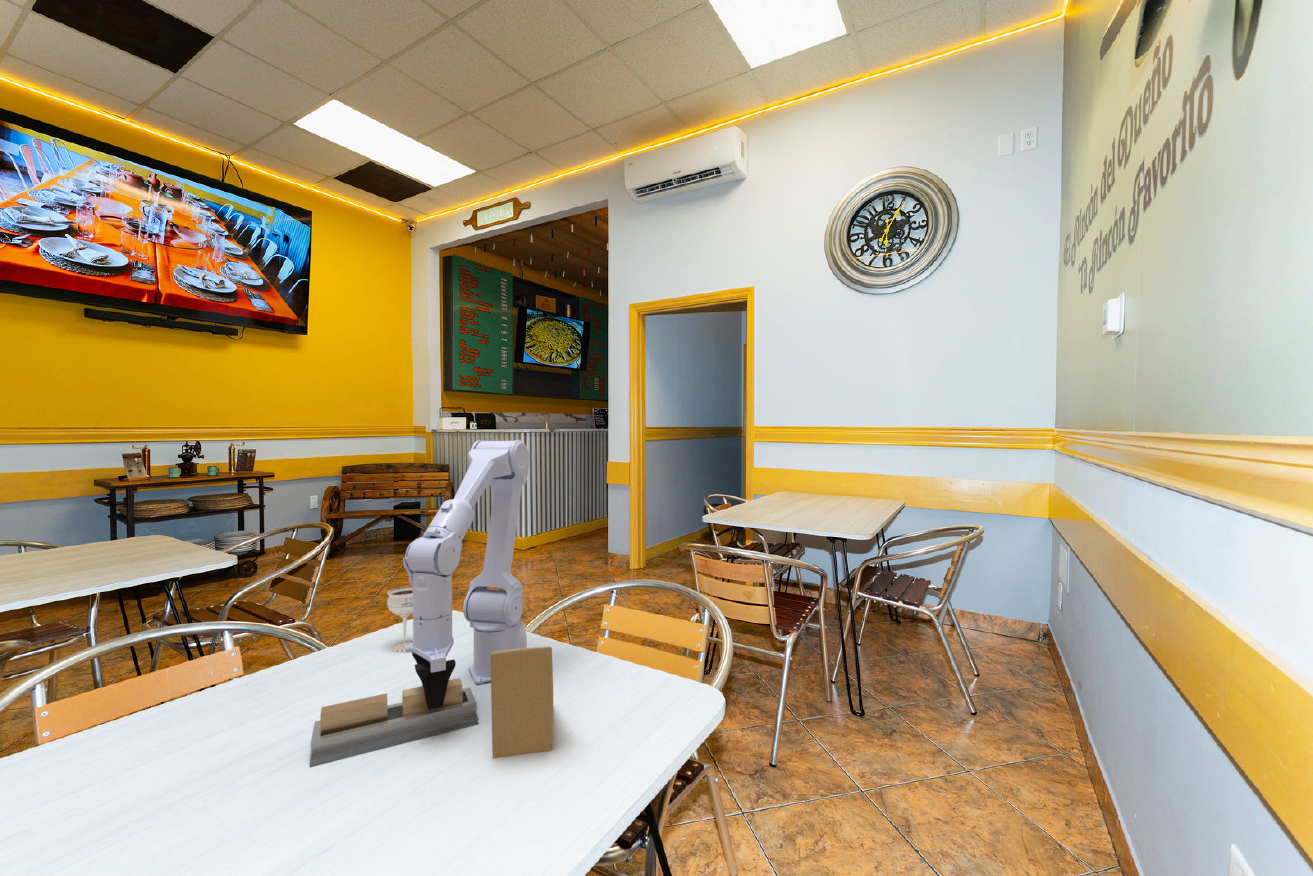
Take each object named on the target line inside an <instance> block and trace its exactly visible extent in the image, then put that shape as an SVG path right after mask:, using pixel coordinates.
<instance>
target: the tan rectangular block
mask: <svg viewBox="0 0 1313 876" xmlns="http://www.w3.org/2000/svg"><path fill="white" fill-rule="evenodd" d="M462 689H463V683H462V680H461V677H458V678H454V679H449V681H448V685H447V689H446V695H445V700H444V703H443V707H440V708H444V707H448V706H453V705H457V704H461V703H462ZM401 693H402V697H401V698H402V700H401V701H402V713H403V717H405V716H410V715H414V714H418V713H422V712H427V711H431V710H435V709H440V708H435V709H431V710H428V707H427V704H426V699H425V693H424V688H423V686H422V685H421V686H416V687H410V688H407V689H402V690H401Z"/></svg>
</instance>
